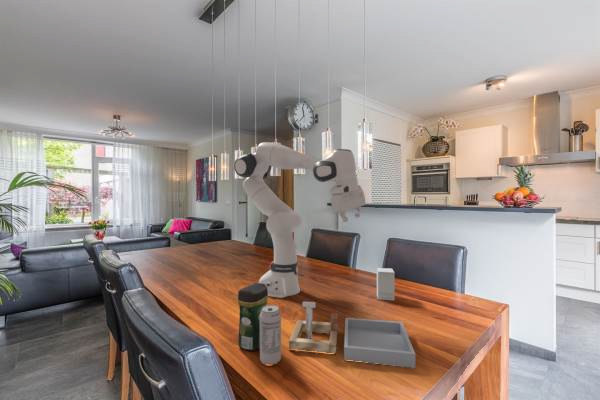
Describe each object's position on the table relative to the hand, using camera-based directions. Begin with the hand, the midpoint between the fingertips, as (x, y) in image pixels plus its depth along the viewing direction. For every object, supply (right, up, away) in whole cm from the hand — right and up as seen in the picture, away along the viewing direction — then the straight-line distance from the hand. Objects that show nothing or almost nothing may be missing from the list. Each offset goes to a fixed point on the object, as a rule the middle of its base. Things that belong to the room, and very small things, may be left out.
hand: (351, 219), depth 117 cm
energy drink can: (-30, -38, -39) cm, 62 cm away
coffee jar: (-37, -37, -30) cm, 60 cm away
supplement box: (+17, -37, +9) cm, 41 cm away
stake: (-19, -37, -30) cm, 52 cm away
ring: (-17, -37, -28) cm, 50 cm away
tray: (+2, -37, -31) cm, 49 cm away
